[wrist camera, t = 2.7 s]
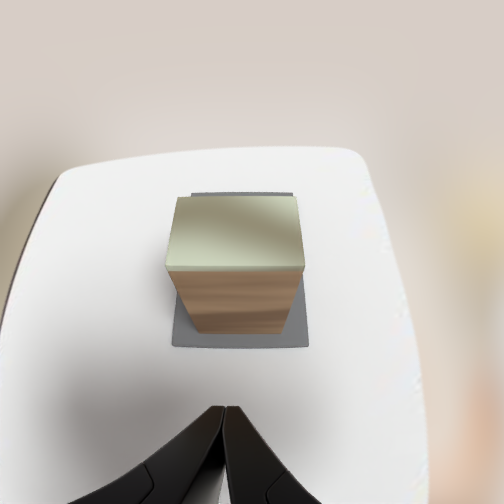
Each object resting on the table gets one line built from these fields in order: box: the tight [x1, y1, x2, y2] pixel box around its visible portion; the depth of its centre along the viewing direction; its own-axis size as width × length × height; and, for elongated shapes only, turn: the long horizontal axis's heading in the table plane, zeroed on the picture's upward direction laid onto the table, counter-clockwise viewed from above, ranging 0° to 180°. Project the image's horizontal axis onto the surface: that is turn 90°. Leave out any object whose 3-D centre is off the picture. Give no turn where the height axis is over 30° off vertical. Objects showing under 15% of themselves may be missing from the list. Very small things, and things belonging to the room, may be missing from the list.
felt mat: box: [172, 192, 309, 349], centre depth 24 cm, size 15×10×1 cm, turn 1°
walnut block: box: [165, 196, 305, 334], centre depth 18 cm, size 4×6×10 cm, turn 91°
